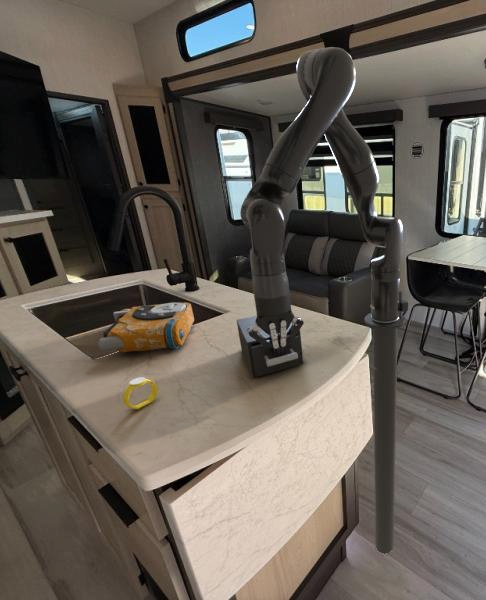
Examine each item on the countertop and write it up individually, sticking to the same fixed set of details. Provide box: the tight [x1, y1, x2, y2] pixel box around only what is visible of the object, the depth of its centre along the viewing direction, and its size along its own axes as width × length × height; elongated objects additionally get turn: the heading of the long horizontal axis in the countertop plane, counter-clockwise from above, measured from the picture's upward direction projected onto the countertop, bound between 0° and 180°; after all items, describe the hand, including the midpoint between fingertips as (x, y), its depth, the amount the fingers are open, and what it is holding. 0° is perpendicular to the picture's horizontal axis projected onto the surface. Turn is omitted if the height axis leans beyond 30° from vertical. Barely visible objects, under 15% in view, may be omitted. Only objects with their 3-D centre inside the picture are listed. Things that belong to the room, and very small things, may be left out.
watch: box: [122, 376, 159, 410], centre depth 67 cm, size 6×3×6 cm, turn 158°
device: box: [98, 302, 195, 353], centre depth 96 cm, size 23×8×30 cm
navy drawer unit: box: [236, 315, 304, 378], centre depth 85 cm, size 16×13×10 cm
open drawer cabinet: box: [251, 335, 304, 378], centre depth 81 cm, size 19×11×8 cm, turn 32°
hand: (280, 359), depth 77 cm, fingers closed
